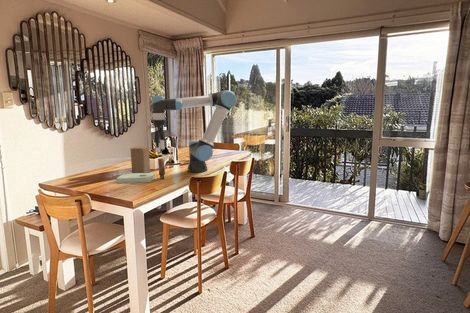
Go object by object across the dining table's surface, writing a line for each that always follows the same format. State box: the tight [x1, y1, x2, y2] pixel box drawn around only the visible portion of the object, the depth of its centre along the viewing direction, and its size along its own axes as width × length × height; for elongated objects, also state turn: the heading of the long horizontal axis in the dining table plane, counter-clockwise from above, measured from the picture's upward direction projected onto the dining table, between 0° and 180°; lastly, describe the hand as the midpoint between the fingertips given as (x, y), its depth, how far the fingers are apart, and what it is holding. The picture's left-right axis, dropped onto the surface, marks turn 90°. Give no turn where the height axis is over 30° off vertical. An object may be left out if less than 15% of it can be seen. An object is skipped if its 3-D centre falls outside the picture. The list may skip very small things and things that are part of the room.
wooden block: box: [129, 145, 151, 173], centre depth 221 cm, size 10×10×20 cm
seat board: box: [116, 172, 156, 184], centre depth 205 cm, size 22×14×3 cm, turn 91°
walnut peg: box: [157, 157, 166, 180], centre depth 206 cm, size 4×4×14 cm
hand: (160, 150), depth 204 cm, fingers open, 13 cm apart
